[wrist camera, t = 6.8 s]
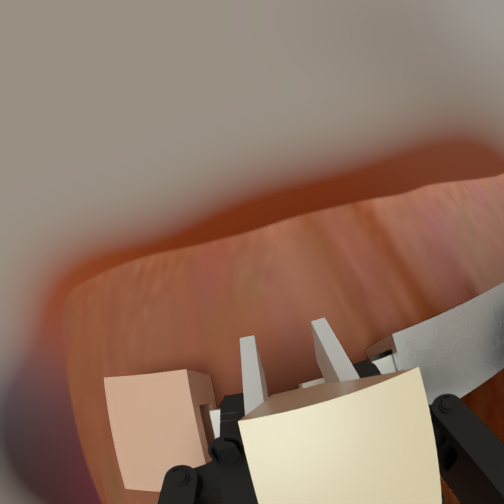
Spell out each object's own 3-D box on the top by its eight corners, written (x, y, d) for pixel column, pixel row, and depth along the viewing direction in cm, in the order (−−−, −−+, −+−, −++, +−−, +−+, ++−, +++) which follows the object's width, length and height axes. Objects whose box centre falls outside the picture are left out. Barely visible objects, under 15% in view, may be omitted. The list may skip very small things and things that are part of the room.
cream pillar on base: (452, 327, 19) (601, 221, 4) (463, 364, 17) (625, 292, 2) (217, 400, 19) (45, 409, 4) (227, 444, 17) (87, 552, 2)
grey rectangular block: (470, 304, 20) (506, 280, 15) (487, 360, 18) (528, 347, 12) (365, 348, 20) (391, 334, 15) (383, 416, 18) (415, 422, 12)
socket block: (210, 374, 21) (186, 369, 15) (230, 467, 17) (213, 491, 12) (143, 383, 21) (103, 377, 15) (160, 470, 17) (125, 488, 12)
